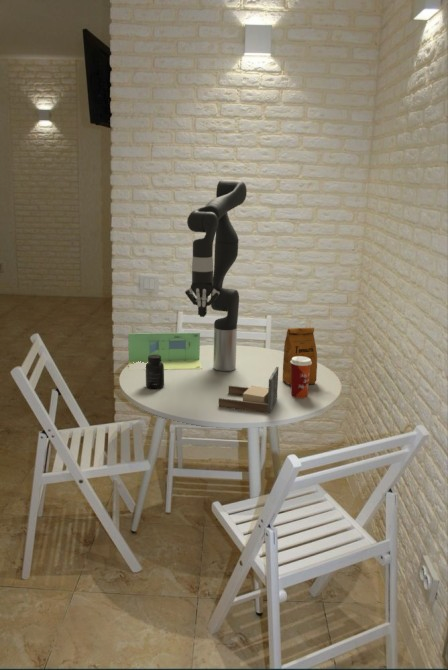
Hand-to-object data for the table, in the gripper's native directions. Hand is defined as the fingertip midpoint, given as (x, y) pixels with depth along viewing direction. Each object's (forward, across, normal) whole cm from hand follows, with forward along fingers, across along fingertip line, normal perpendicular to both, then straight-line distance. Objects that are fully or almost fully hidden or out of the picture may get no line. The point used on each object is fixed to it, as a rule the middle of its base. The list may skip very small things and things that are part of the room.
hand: (202, 316), depth 216 cm
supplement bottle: (+27, +17, +5) cm, 33 cm away
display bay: (+27, -20, +11) cm, 35 cm away
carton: (+28, -23, +11) cm, 37 cm away
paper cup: (+28, -36, -2) cm, 46 cm away
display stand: (+28, +22, -21) cm, 42 cm away
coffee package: (+28, -35, -16) cm, 47 cm away
